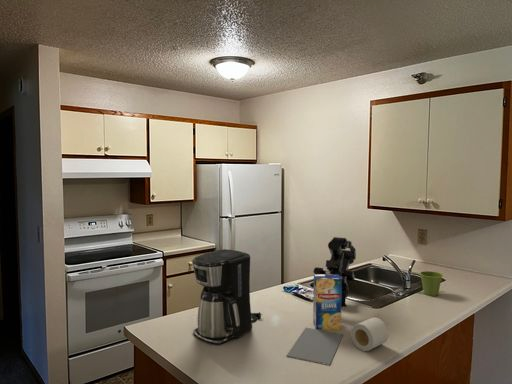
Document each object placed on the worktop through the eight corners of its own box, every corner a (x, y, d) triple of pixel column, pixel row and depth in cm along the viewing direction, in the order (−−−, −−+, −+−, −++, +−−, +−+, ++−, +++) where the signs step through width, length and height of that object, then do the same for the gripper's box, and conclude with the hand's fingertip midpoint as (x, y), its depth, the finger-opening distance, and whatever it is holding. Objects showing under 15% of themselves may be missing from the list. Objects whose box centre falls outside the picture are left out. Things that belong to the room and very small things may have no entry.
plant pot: (435, 290, 213) (436, 270, 212) (447, 297, 201) (447, 277, 200) (414, 290, 213) (415, 270, 212) (425, 298, 201) (425, 277, 200)
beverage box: (312, 322, 170) (313, 274, 168) (337, 322, 170) (338, 274, 168) (315, 329, 163) (316, 279, 161) (341, 329, 163) (342, 279, 162)
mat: (305, 328, 164) (305, 327, 164) (343, 334, 158) (343, 333, 158) (286, 356, 140) (286, 355, 140) (329, 365, 134) (329, 364, 134)
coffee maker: (184, 340, 154) (182, 258, 151) (220, 311, 184) (220, 242, 181) (235, 350, 145) (234, 263, 143) (264, 318, 175) (264, 246, 173)
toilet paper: (366, 338, 155) (366, 314, 154) (388, 347, 147) (388, 322, 147) (350, 345, 149) (351, 320, 148) (372, 355, 141) (373, 329, 140)
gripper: (313, 251, 183) (306, 281, 175) (352, 253, 175) (347, 285, 166) (319, 262, 191) (313, 291, 183) (357, 265, 182) (352, 296, 174)
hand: (330, 290), depth 176 cm, fingers closed
